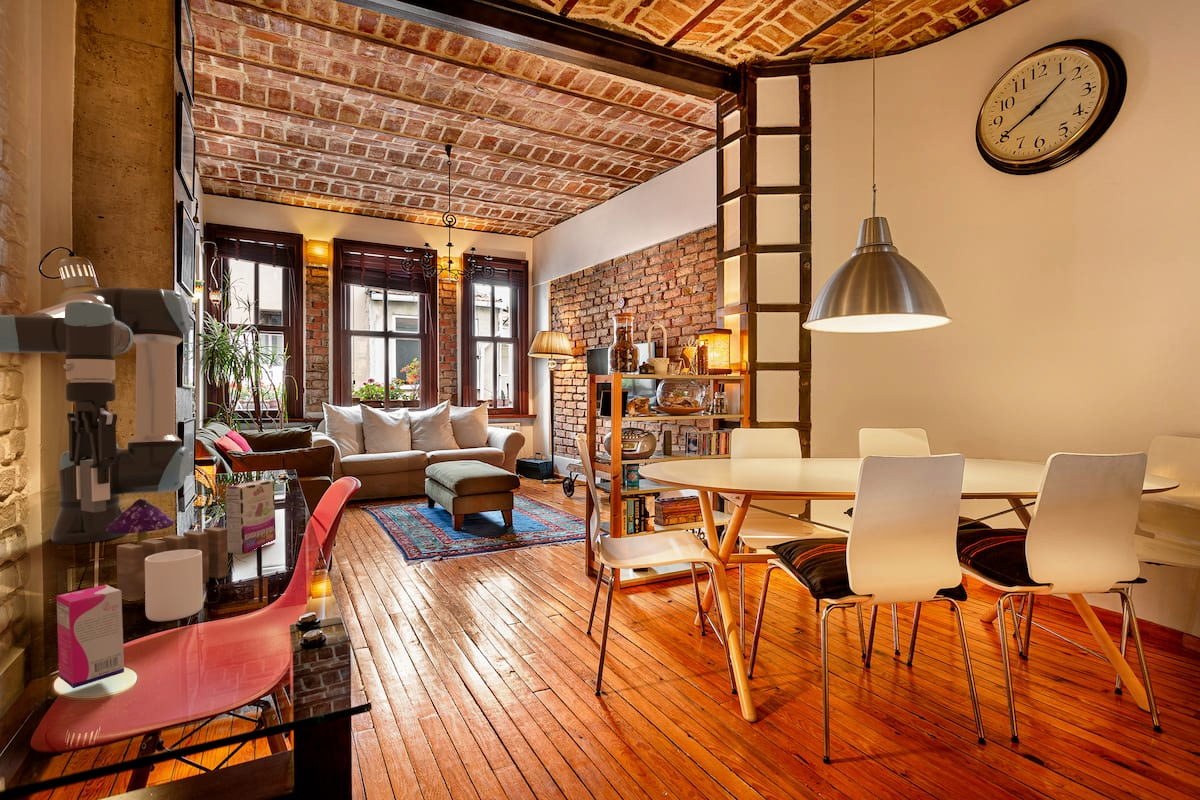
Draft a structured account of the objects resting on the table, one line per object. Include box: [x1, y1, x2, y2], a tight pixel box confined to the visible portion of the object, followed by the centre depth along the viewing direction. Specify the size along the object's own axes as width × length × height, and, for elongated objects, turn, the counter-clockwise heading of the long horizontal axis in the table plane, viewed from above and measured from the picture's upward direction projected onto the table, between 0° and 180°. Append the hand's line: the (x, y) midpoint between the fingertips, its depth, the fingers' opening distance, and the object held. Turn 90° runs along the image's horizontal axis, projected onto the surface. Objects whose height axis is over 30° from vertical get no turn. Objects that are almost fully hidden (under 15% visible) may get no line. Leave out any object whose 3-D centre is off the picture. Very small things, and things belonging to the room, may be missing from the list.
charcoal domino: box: [80, 459, 106, 513], centre depth 122 cm, size 2×5×10 cm, turn 63°
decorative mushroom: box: [106, 498, 176, 545], centre depth 140 cm, size 12×12×15 cm
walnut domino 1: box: [116, 542, 145, 602], centre depth 116 cm, size 2×5×10 cm, turn 63°
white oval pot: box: [144, 549, 204, 622], centre depth 110 cm, size 12×8×10 cm
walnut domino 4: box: [183, 530, 210, 584], centre depth 127 cm, size 2×5×10 cm, turn 63°
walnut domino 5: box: [202, 526, 229, 580], centre depth 131 cm, size 2×5×10 cm, turn 63°
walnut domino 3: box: [162, 534, 188, 552], centre depth 123 cm, size 2×5×10 cm, turn 63°
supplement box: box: [56, 584, 125, 689], centre depth 84 cm, size 6×6×12 cm
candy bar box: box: [224, 479, 277, 555], centre depth 153 cm, size 11×5×16 cm, turn 168°
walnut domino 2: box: [140, 538, 166, 592], centre depth 120 cm, size 2×5×10 cm, turn 63°
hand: (93, 498), depth 122 cm, fingers closed on charcoal domino, 5 cm apart
